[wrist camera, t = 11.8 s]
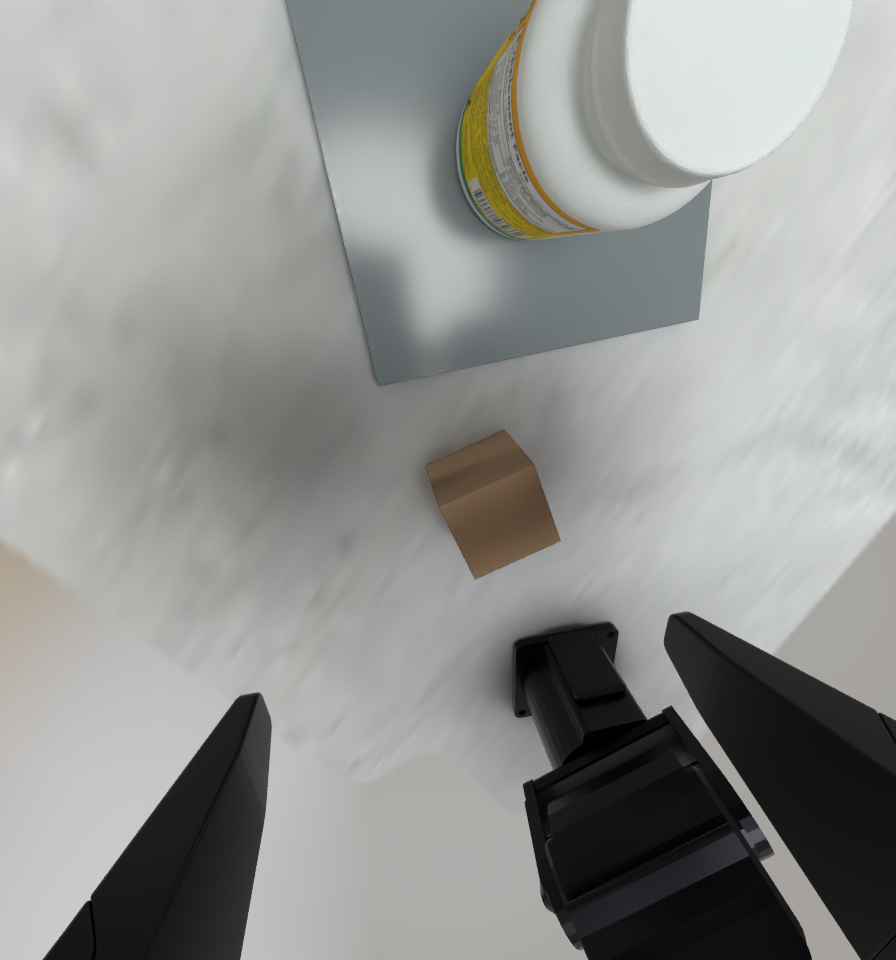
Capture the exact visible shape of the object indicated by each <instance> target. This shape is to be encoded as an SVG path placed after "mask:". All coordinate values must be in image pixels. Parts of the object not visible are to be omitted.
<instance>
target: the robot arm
mask: <svg viewBox="0 0 896 960" xmlns="http://www.w3.org/2000/svg"><path fill="white" fill-rule="evenodd" d="M618 634H619V633H618V630H617V629H616V627H615V626H614V625H613V624H605V625H600V626H595V627H589V628H584V629H579V630H573V631H568V632H563V633H557V634H552V635H547V636H541V637H536V638H531V639H526V640H521V641H518V642H517V643H516V644H515V645H514V658H513V711H514V714H515V716H516V717H518V718H522V717H527V716H533V719H534V722H535V724H536V727H537V729H538V732H539V735H540V737H541V740H542V742H543V745H544V748H545V750H546V753H547V755H548V758H549V761H550V763H551V766H552V768H553V771H551V772H549V773H547V774H545V775H543V776H541V777H540V778H538V779H536V780H534V781H533V780H532V779H531V780H530V781H528V782H526V783H524V784H523V788H524V793H525V798H526V801H525V807H526V813H527V818H528V822H529V827H530V833H531V837H532V843H533V848H534V853H535V858H536V863H537V868H538V873H539V878H540V892H541V897H542V900H543V903H544V905H545V907H546V908H547V909H548V910H550V911H551V912H553V913H554V914H556V916H557V918H558V920H559V922H560V924H561V926H562V928H563V930H564V932H565V934H566V935H567V937H568V939H569V940H570V942H571V943H572V944H573V946H574V947H575V948H576V949H578V950H582V949H584V951H585V953H586V955H587V958H588V960H812V958H811V954H810V951H809V948H808V946H807V944H806V938H805V935H804V932H803V929H802V927H801V925H800V923H799V922H798V920H797V918H796V917H795V915H794V914H793V912H792V911H791V909H790V907H789V906H788V904H787V903H786V901H785V900H784V898H783V896H782V895H781V893H780V892H779V890H778V889H777V887H776V886H775V884H774V882H773V881H772V879H771V878H770V876H769V875H768V873H767V872H766V870H765V868H764V867H763V865H762V864H761V862H760V861H763V860H765V859H767V858H769V857H771V856H773V855H774V852H773V850H772V848H771V846H770V844H769V842H768V841H767V839H766V837H765V836H764V834H763V832H762V831H761V829H760V828H759V826H758V824H757V823H756V821H755V820H754V818H753V817H752V815H751V814H750V812H749V811H748V809H747V808H746V806H745V805H744V803H743V802H742V800H741V799H740V797H739V796H738V794H737V793H736V792H735V790H734V789H733V787H732V786H731V784H730V783H729V782H728V780H727V779H726V777H725V776H724V775H723V773H722V772H721V771H720V769H719V768H718V767H717V765H716V764H715V763H714V761H713V760H712V759H711V757H710V756H709V755H708V753H707V752H706V751H705V749H704V748H703V747H702V746H701V744H700V743H699V741H698V740H697V739H696V737H695V736H694V735H693V734H692V732H691V731H690V730H689V728H688V727H687V726H686V724H685V723H684V722H683V720H682V719H681V718H680V716H679V715H678V714H677V712H676V711H675V710H674V708H673V707H672V706H669V707H667V708H665V709H663V710H662V713H660V714H658V715H656V716H655V717H653V718H651V719H649V720H647V718H646V716H645V715H644V713H643V712H642V710H641V708H640V707H639V705H638V704H637V702H636V701H635V699H634V697H633V696H632V694H631V693H630V691H629V689H628V688H627V686H626V684H625V682H624V681H623V679H622V677H621V676H620V674H619V673H618V671H617V669H616V668H615V666H614V659H615V653H616V646H617V640H618ZM664 646H665V649H666V651H667V653H668V655H669V657H670V659H671V661H672V663H673V665H674V667H675V668H676V670H677V672H678V674H679V676H680V678H681V680H682V682H683V684H684V685H685V687H686V689H687V691H688V693H689V695H690V697H691V699H692V700H693V702H694V704H695V706H696V708H697V709H698V711H699V713H700V715H701V716H702V718H703V720H704V721H705V723H706V724H707V726H708V727H709V729H710V730H711V732H712V733H713V735H714V737H715V738H716V740H717V741H718V742H719V744H720V746H721V747H722V749H723V750H724V752H725V753H726V755H727V756H728V758H729V759H730V761H731V762H732V764H733V765H734V767H735V768H736V770H737V771H738V773H739V775H740V776H741V778H742V779H743V781H744V782H745V784H746V785H747V787H748V788H749V790H750V791H751V793H752V794H753V796H754V797H755V799H756V801H757V802H758V804H759V805H760V806H761V808H762V810H763V811H764V813H765V814H766V816H767V817H768V819H769V820H770V822H771V823H772V825H773V826H774V828H775V829H776V831H777V832H778V834H779V836H780V837H781V839H782V840H783V841H784V843H785V845H786V846H787V848H788V849H789V851H790V852H791V854H792V855H793V857H794V858H795V860H796V861H797V863H798V865H799V866H800V867H801V869H802V870H803V872H804V874H805V875H806V877H807V878H808V880H809V881H810V883H811V884H812V886H813V887H814V889H815V890H816V892H817V893H818V895H819V897H820V898H821V900H822V901H823V903H824V904H825V906H826V907H827V909H828V910H829V912H830V913H831V915H832V916H833V918H834V919H835V921H836V922H837V924H838V925H839V927H840V928H841V930H842V932H843V933H844V935H845V936H846V938H847V939H848V941H849V942H850V944H851V945H852V947H853V948H854V950H855V951H856V953H857V954H858V956H859V957H860V959H861V960H896V720H894V719H892V718H890V717H888V716H886V715H884V714H882V713H877V711H876V710H875V709H873V708H871V707H869V706H867V705H865V704H863V703H861V702H859V701H858V700H856V699H854V698H852V697H850V696H848V695H846V694H844V693H842V692H840V691H839V690H837V689H835V688H833V687H831V686H829V685H827V684H825V683H823V682H821V681H820V680H818V679H816V678H814V677H812V676H810V675H808V674H806V673H805V672H803V671H801V670H799V669H797V668H795V667H793V666H791V665H789V664H787V663H786V662H784V661H782V660H780V659H778V658H776V657H774V656H772V655H770V654H769V653H767V652H765V651H763V650H761V649H759V648H757V647H755V646H753V645H751V644H750V643H748V642H746V641H744V640H742V639H740V638H738V637H736V636H734V635H733V634H731V633H729V632H727V631H725V630H723V629H721V628H719V627H717V626H716V625H714V624H712V623H710V622H708V621H706V620H704V619H702V618H700V617H698V616H697V615H695V614H693V613H690V612H680V613H675V614H671V615H670V617H669V619H668V623H667V627H666V632H665V636H664ZM523 648H524V649H523ZM271 730H272V725H271V718H270V715H269V712H268V710H267V707H266V704H265V701H264V699H263V696H262V694H261V693H257V692H256V693H251V694H246V695H241V696H239V697H238V698H237V699H236V700H235V701H234V703H233V704H232V705H231V707H230V708H229V710H228V711H227V712H226V714H225V715H224V716H223V718H222V719H221V720H220V722H219V723H218V724H217V726H216V727H215V729H214V730H213V731H212V733H211V734H210V735H209V737H208V738H207V739H206V741H205V742H204V743H203V745H202V746H201V748H200V749H199V750H198V751H197V753H196V754H195V756H194V757H193V758H192V760H191V761H190V762H189V764H188V765H187V767H186V768H185V769H184V770H183V772H182V773H181V775H180V776H179V777H178V779H177V780H176V781H175V783H174V784H173V785H172V787H171V788H170V789H169V791H168V792H167V793H166V795H165V796H164V797H163V799H162V800H161V801H160V803H159V804H158V806H157V807H156V808H155V810H154V811H153V812H152V814H151V815H150V816H149V818H148V819H147V821H146V822H145V823H144V824H143V826H142V827H141V829H140V830H139V831H138V833H137V834H136V835H135V837H134V838H133V839H132V841H131V842H130V843H129V845H128V846H127V848H126V849H125V850H124V851H123V853H122V854H121V856H120V857H119V858H118V860H117V861H116V862H115V864H114V865H113V867H112V868H111V869H110V870H109V872H108V873H107V875H106V876H105V877H104V879H103V880H102V881H101V883H100V884H99V885H98V887H97V888H96V889H95V891H94V892H93V893H92V895H91V901H87V902H86V903H85V904H84V905H83V907H82V908H81V910H80V911H79V912H78V913H77V915H76V916H75V917H74V919H73V920H72V921H71V923H70V924H69V926H68V927H67V928H66V930H65V931H64V932H63V934H62V935H61V936H60V937H59V939H58V940H57V941H56V943H55V944H54V945H53V947H52V948H51V949H50V951H49V952H48V953H47V955H46V956H45V957H44V958H43V960H240V958H241V952H242V946H243V940H244V935H245V929H246V923H247V917H248V911H249V906H250V900H251V895H252V889H253V883H254V877H255V871H256V866H257V860H258V855H259V848H260V843H261V837H262V832H263V825H264V819H265V812H266V801H267V787H268V772H269V759H270V745H271V744H270V743H271Z"/></svg>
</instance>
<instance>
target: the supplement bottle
mask: <svg viewBox="0 0 896 960" xmlns="http://www.w3.org/2000/svg"><path fill="white" fill-rule="evenodd" d="M853 2H854V0H533V1H532V3H531V4H530V6H529V7H528V9H527V11H526V12H525V13H524V15H523V16H522V18H521V19H520V21H519V22H518V24H517V25H516V26H515V27H514V29H513V30H512V32H511V33H510V35H509V36H508V38H507V39H506V41H505V42H504V43H503V45H502V46H501V48H500V49H499V51H498V52H497V53H496V55H495V56H494V58H493V59H492V61H491V62H490V63H489V65H488V67H487V68H486V70H485V71H484V73H483V74H482V76H481V77H480V79H479V80H478V82H477V83H476V85H475V86H474V88H473V90H472V91H471V93H470V95H469V97H468V99H467V101H466V103H465V105H464V108H463V111H462V114H461V117H460V121H459V126H458V131H457V141H456V155H457V167H458V173H459V178H460V181H461V184H462V187H463V190H464V192H465V195H466V197H467V199H468V201H469V203H470V205H471V206H472V208H473V209H474V211H475V212H476V214H477V215H478V216H479V217H480V218H481V220H482V221H483V222H484V223H485V224H486V225H488V226H489V227H490V228H492V229H493V230H494V231H496V232H498V233H499V234H501V235H504V236H506V237H509V238H512V239H515V240H521V241H534V240H543V239H551V238H559V237H567V236H575V235H584V234H593V233H602V232H612V231H620V230H629V229H635V228H639V227H643V226H646V225H649V224H652V223H654V222H656V221H659V220H661V219H663V218H665V217H667V216H669V215H670V214H672V213H674V212H675V211H677V210H679V209H680V208H681V207H683V206H684V205H685V204H687V203H688V202H689V201H691V200H692V199H693V198H694V197H695V196H696V195H697V194H698V193H700V192H701V191H702V189H703V188H704V187H705V186H706V185H707V184H708V183H709V182H710V181H711V180H712V179H716V178H719V177H723V176H727V175H730V174H734V173H737V172H740V171H742V170H744V169H746V168H748V167H750V166H751V165H753V164H755V163H757V162H759V161H760V160H762V159H763V158H765V157H766V156H768V155H769V154H771V153H772V152H773V151H774V150H776V149H777V148H778V147H779V146H780V145H781V144H782V143H783V142H785V140H786V139H787V138H788V137H789V136H790V135H791V134H792V133H793V132H794V131H795V130H796V129H797V128H798V127H799V125H800V124H801V123H802V122H803V120H804V119H805V118H806V116H807V115H808V114H809V112H810V111H811V110H812V108H813V106H814V105H815V103H816V101H817V100H818V98H819V97H820V95H821V93H822V92H823V90H824V88H825V86H826V84H827V82H828V80H829V78H830V76H831V74H832V72H833V70H834V66H835V64H836V62H837V59H838V57H839V55H840V52H841V49H842V46H843V43H844V40H845V36H846V33H847V30H848V26H849V21H850V17H851V12H852V7H853Z"/></svg>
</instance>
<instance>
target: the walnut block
mask: <svg viewBox="0 0 896 960" xmlns="http://www.w3.org/2000/svg"><path fill="white" fill-rule="evenodd" d="M425 467H426V470H427V473H428V476H429V479H430V482H431V485H432V488H433V491H434V494H435V497H436V500H437V503H438V506H439V509H440V511H441V513H442V515H443V517H444V519H445V521H446V523H447V525H448V527H449V529H450V531H451V533H452V535H453V537H454V539H455V541H456V543H457V545H458V547H459V549H460V551H461V553H462V555H463V557H464V559H465V561H466V563H467V565H468V567H469V569H470V571H471V573H472V575H473V577H474V579H477V578H480V577H482V576H484V575H486V574H488V573H491V572H493V571H495V570H497V569H500V568H502V567H504V566H506V565H508V564H511V563H513V562H515V561H517V560H520V559H522V558H524V557H526V556H528V555H531V554H533V553H535V552H537V551H539V550H542V549H544V548H546V547H548V546H551V545H553V544H555V543H557V542H559V541H561V540H560V537H559V534H558V532H557V529H556V526H555V523H554V520H553V517H552V514H551V512H550V509H549V506H548V503H547V500H546V497H545V494H544V492H543V489H542V486H541V483H540V480H539V477H538V474H537V472H536V469H535V466H534V464H533V463H532V461H531V460H530V459H529V458H528V457H527V456H526V454H525V453H524V452H523V451H522V450H521V449H520V447H519V446H518V445H517V444H516V443H515V442H514V440H513V439H512V438H511V437H510V436H509V435H508V433H507V432H506V431H505V430H502V431H500V432H498V433H496V434H494V435H492V436H489V437H487V438H485V439H483V440H481V441H478V442H476V443H474V444H472V445H470V446H468V447H465V448H463V449H461V450H459V451H457V452H454V453H452V454H450V455H448V456H446V457H444V458H441V459H439V460H437V461H435V462H433V463H431V464H428V465H426V466H425Z"/></svg>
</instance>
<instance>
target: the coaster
mask: <svg viewBox="0 0 896 960" xmlns="http://www.w3.org/2000/svg"><path fill="white" fill-rule="evenodd" d="M532 1H533V0H286V2H287V6H288V10H289V14H290V18H291V23H292V27H293V31H294V35H295V39H296V44H297V48H298V52H299V56H300V60H301V65H302V69H303V73H304V77H305V81H306V86H307V90H308V94H309V98H310V102H311V107H312V111H313V115H314V119H315V123H316V128H317V132H318V136H319V140H320V144H321V149H322V153H323V157H324V161H325V165H326V170H327V174H328V178H329V182H330V186H331V191H332V195H333V199H334V203H335V207H336V212H337V216H338V220H339V224H340V228H341V233H342V237H343V241H344V245H345V249H346V254H347V258H348V262H349V266H350V270H351V275H352V279H353V283H354V287H355V291H356V296H357V300H358V304H359V308H360V312H361V317H362V321H363V325H364V329H365V333H366V338H367V342H368V346H369V350H370V354H371V358H372V363H373V367H374V371H375V375H376V379H377V384H378V386H382V385H387V384H392V383H397V382H402V381H406V380H411V379H416V378H421V377H426V376H430V375H435V374H440V373H445V372H450V371H454V370H459V369H464V368H469V367H474V366H478V365H483V364H488V363H493V362H498V361H502V360H507V359H512V358H517V357H522V356H526V355H531V354H536V353H541V352H546V351H550V350H555V349H560V348H565V347H570V346H574V345H579V344H584V343H589V342H594V341H598V340H603V339H608V338H613V337H618V336H622V335H627V334H632V333H637V332H642V331H646V330H651V329H656V328H661V327H666V326H670V325H675V324H680V323H685V322H690V321H694V320H698V319H699V309H700V299H701V289H702V278H703V268H704V258H705V248H706V237H707V227H708V217H709V207H710V196H711V186H712V180H711V181H710V182H709V183H708V184H707V185H706V186H705V187H704V188H703V189H702V191H701V192H700V193H698V194H697V195H696V196H695V197H694V198H693V199H692V200H691V201H689V202H688V203H687V204H685V205H684V206H683V207H681V208H680V209H679V210H677V211H675V212H674V213H672V214H670V215H669V216H667V217H665V218H663V219H661V220H659V221H656V222H654V223H652V224H649V225H646V226H643V227H639V228H635V229H629V230H620V231H612V232H602V233H593V234H584V235H575V236H567V237H559V238H551V239H543V240H534V241H521V240H515V239H512V238H509V237H506V236H504V235H501V234H499V233H498V232H496V231H494V230H493V229H492V228H490V227H489V226H488V225H486V224H485V223H484V222H483V221H482V220H481V218H480V217H479V216H478V215H477V214H476V212H475V211H474V209H473V208H472V206H471V205H470V203H469V201H468V199H467V197H466V195H465V192H464V190H463V187H462V184H461V181H460V178H459V173H458V167H457V155H456V141H457V131H458V126H459V121H460V117H461V114H462V111H463V108H464V105H465V103H466V101H467V99H468V97H469V95H470V93H471V91H472V90H473V88H474V86H475V85H476V83H477V82H478V80H479V79H480V77H481V76H482V74H483V73H484V71H485V70H486V68H487V67H488V65H489V63H490V62H491V61H492V59H493V58H494V56H495V55H496V53H497V52H498V51H499V49H500V48H501V46H502V45H503V43H504V42H505V41H506V39H507V38H508V36H509V35H510V33H511V32H512V30H513V29H514V27H515V26H516V25H517V24H518V22H519V21H520V19H521V18H522V16H523V15H524V13H525V12H526V11H527V9H528V7H529V6H530V4H531V3H532Z"/></svg>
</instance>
